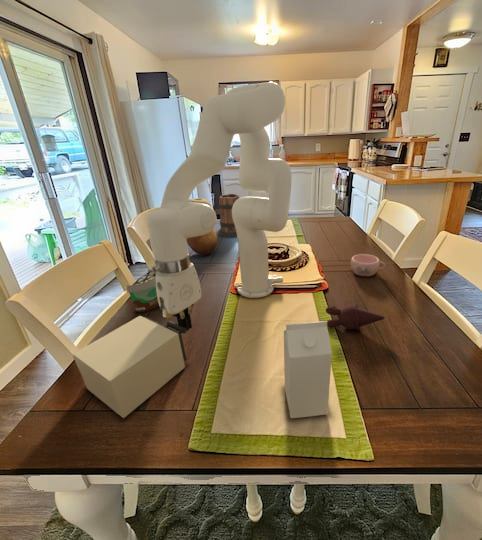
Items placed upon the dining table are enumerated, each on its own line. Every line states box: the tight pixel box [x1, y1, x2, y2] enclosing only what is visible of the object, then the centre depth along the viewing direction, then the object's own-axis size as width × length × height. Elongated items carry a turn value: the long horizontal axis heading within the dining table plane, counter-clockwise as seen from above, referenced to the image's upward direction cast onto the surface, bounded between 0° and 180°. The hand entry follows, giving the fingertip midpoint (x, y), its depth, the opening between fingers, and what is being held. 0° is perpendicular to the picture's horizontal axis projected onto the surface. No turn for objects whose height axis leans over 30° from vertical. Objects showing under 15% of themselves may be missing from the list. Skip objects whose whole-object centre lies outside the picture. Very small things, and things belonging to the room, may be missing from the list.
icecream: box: [325, 304, 386, 331], centre depth 77 cm, size 7×7×15 cm
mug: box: [350, 253, 386, 277], centre depth 106 cm, size 12×10×6 cm
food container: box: [126, 268, 159, 313], centre depth 91 cm, size 12×6×10 cm, turn 168°
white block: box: [72, 315, 186, 419], centre depth 63 cm, size 16×14×10 cm
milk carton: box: [283, 320, 333, 419], centre depth 53 cm, size 7×7×19 cm
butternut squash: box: [186, 197, 219, 257], centre depth 127 cm, size 14×13×25 cm
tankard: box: [216, 193, 240, 238], centre depth 154 cm, size 24×17×20 cm
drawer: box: [145, 317, 188, 363], centre depth 66 cm, size 19×13×8 cm
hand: (185, 327), depth 74 cm, fingers closed
